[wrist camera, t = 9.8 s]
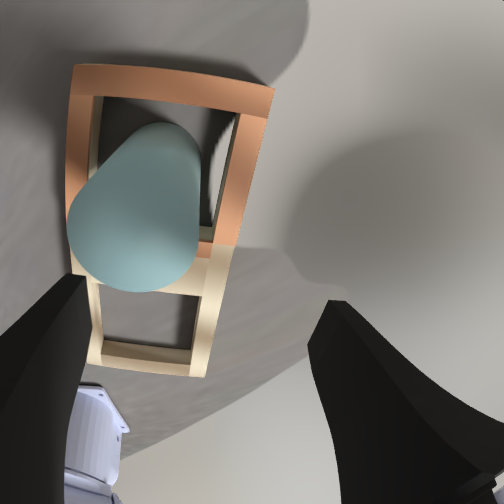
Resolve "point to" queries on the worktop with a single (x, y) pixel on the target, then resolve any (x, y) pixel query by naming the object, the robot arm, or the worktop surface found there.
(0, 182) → the worktop surface
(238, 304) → the worktop surface
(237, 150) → the wooden slot frame
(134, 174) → the peg
